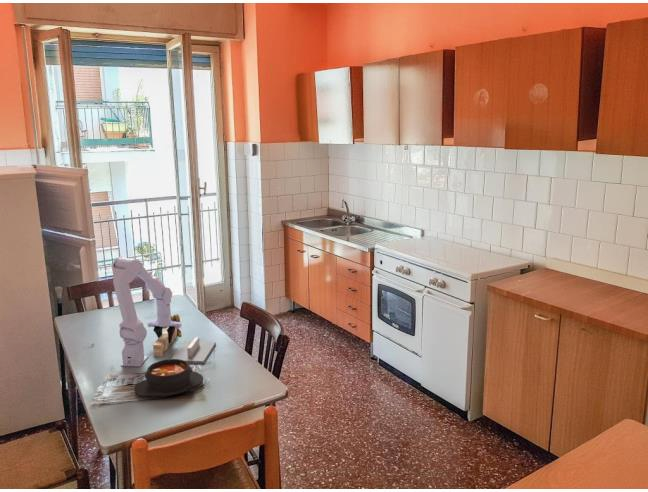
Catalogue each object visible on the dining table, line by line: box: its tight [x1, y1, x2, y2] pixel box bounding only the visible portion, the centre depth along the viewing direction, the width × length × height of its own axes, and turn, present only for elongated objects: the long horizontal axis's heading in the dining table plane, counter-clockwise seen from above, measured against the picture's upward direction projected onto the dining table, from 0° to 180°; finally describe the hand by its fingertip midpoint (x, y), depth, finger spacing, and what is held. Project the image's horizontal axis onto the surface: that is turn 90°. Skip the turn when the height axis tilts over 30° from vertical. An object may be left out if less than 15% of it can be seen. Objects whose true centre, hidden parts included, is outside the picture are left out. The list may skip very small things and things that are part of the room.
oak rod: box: [152, 327, 178, 357], centre depth 240 cm, size 22×4×5 cm, turn 178°
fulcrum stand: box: [170, 336, 217, 365], centre depth 231 cm, size 20×14×5 cm
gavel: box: [156, 313, 182, 337], centre depth 258 cm, size 21×5×10 cm
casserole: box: [133, 358, 204, 397], centre depth 201 cm, size 25×19×8 cm
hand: (165, 342), depth 240 cm, fingers closed on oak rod, 4 cm apart
